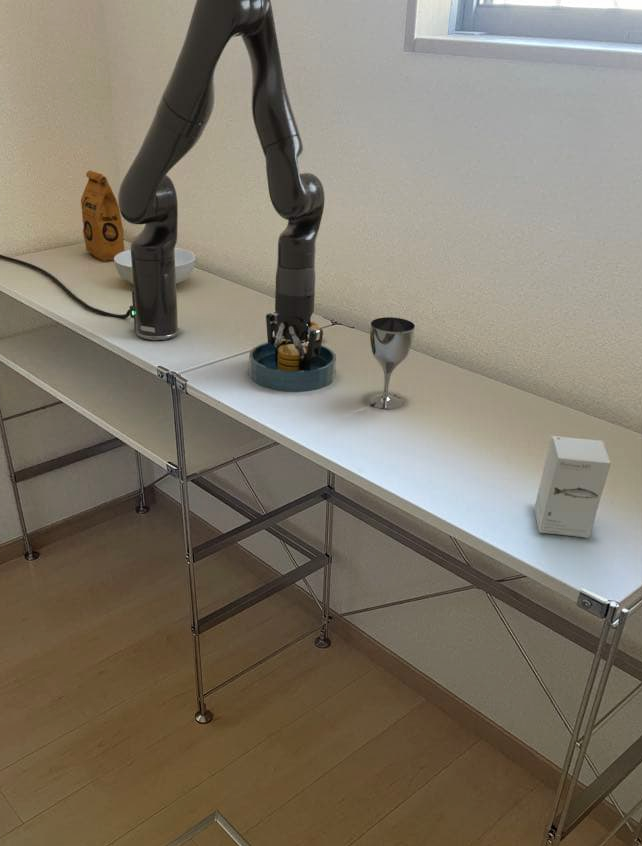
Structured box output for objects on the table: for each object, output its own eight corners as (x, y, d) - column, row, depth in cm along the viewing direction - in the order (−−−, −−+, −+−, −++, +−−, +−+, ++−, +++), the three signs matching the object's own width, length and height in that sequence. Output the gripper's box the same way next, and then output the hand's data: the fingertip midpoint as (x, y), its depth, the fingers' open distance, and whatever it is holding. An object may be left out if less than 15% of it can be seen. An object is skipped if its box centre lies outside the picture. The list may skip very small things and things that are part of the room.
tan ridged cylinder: (271, 373, 167) (271, 348, 164) (292, 366, 170) (293, 341, 167) (291, 382, 163) (292, 357, 160) (313, 375, 166) (314, 350, 163)
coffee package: (96, 263, 230) (88, 178, 218) (82, 252, 239) (73, 170, 227) (130, 259, 234) (124, 176, 222) (114, 248, 243) (108, 168, 231)
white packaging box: (537, 534, 120) (556, 457, 113) (533, 508, 126) (550, 433, 119) (590, 540, 119) (612, 462, 112) (583, 513, 125) (603, 438, 118)
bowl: (231, 374, 167) (231, 353, 164) (293, 354, 177) (294, 334, 174) (290, 401, 157) (291, 379, 154) (352, 378, 166) (353, 357, 164)
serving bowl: (154, 267, 229) (152, 241, 225) (212, 281, 219) (211, 255, 215) (98, 284, 214) (96, 257, 211) (158, 301, 204) (157, 272, 201)
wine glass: (378, 412, 153) (386, 334, 145) (356, 396, 159) (362, 320, 151) (413, 405, 156) (423, 328, 148) (390, 389, 162) (398, 315, 154)
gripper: (255, 283, 159) (254, 365, 168) (307, 301, 150) (303, 387, 160) (283, 276, 163) (281, 357, 173) (336, 293, 155) (330, 377, 164)
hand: (292, 371), depth 166 cm, fingers closed on tan ridged cylinder, 6 cm apart
